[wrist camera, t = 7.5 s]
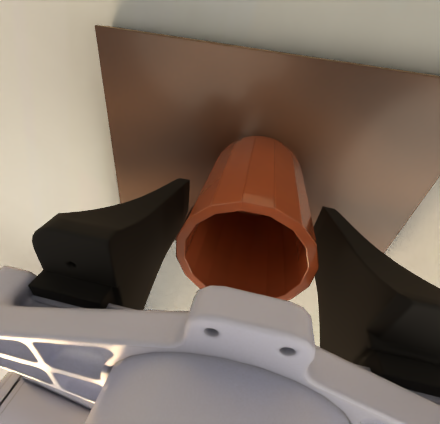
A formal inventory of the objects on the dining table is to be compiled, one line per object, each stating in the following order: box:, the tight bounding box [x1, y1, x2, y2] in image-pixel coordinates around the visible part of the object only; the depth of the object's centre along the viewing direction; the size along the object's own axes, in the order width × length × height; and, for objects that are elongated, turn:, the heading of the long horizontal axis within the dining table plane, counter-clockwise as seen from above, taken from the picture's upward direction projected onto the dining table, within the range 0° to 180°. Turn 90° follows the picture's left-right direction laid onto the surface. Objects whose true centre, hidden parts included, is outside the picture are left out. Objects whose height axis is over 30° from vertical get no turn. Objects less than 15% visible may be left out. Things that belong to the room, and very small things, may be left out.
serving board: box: [95, 25, 440, 253], centre depth 17 cm, size 14×20×2 cm
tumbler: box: [176, 136, 319, 301], centre depth 13 cm, size 6×6×8 cm
